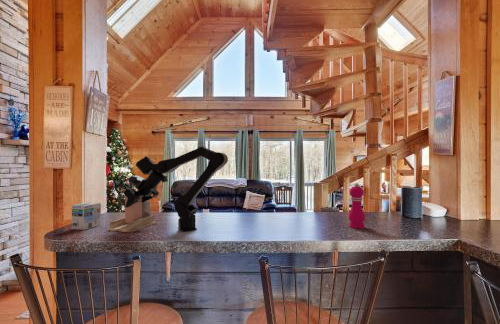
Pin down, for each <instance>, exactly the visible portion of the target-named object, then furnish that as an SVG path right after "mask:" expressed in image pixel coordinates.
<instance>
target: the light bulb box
mask: <svg viewBox="0 0 500 324" xmlns="http://www.w3.org/2000/svg"><path fill="white" fill-rule="evenodd" d="M101 206H102V205H101V202H96V201H95V202H92V201H90V202H83V203H78V204H72V205H71V230H82V231H85V230H87V229H91V228H94V227H95V226H96V227H99V226H101V224H102V223H101V222H102V221H101V219H102V217H101V216H102V212H101V211H102V210H101V209H102V207H101Z"/></svg>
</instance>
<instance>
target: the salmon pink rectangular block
mask: <svg viewBox="0 0 500 324" xmlns="http://www.w3.org/2000/svg"><path fill="white" fill-rule="evenodd" d="M135 190H136V192H138V191H137V190H138V189H135ZM127 200H128V198H127V197H126V196H125V195H124V218H125V222H127V223H129V222H132V221H135V220H139V219H142V196H141V197H140V199H139V200H138V202H137V203H135V204H133V205H131V206H129V207H127V208H126V207H125V205H126V202H127Z"/></svg>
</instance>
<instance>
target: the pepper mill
mask: <svg viewBox="0 0 500 324" xmlns="http://www.w3.org/2000/svg"><path fill="white" fill-rule="evenodd" d="M364 194H365V192H364V189H363V187H361V186H360V185H359V183H358V182H356V183H354V186H352V187H351V188H350V189H349V195H350V201H351V208H350V210H349V213H348V216H347V218H348V220H349V221H350V222H349V227H350V228H351V229H359V230H361V229H364V228H365V223H364V222H365V220H366V214H365V212H364V210H363V207H362V202H363V196H364Z"/></svg>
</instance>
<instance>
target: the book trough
mask: <svg viewBox="0 0 500 324" xmlns="http://www.w3.org/2000/svg"><path fill="white" fill-rule="evenodd" d="M155 224H157V221H155V215H153V214H152V201H151V200H148V201H146V202H143V203H142V219H139V220H135V221H132V222H129V223H127V222H125V217H122V218H119V219H115V220H111V221H109V227H108V228H107V231H109V230H110V231H111V232H126V233H134V232H135V231H138V230H141V229H144V228H148V227H150V226H153V225H155ZM110 231H109V232H110Z"/></svg>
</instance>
